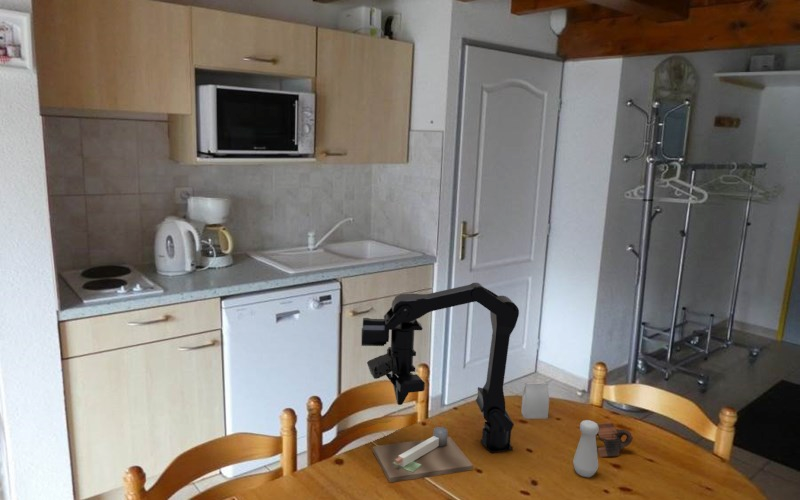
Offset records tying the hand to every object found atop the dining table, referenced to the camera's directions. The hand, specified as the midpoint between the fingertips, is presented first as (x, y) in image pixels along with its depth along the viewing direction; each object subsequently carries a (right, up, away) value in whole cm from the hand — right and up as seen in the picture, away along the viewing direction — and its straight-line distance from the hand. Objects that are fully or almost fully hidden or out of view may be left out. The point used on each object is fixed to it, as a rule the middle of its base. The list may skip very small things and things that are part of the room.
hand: (399, 404), depth 148 cm
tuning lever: (+5, -11, -4) cm, 13 cm away
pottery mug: (+54, -13, +5) cm, 56 cm away
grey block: (+39, -9, +22) cm, 46 cm away
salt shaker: (+45, -15, -7) cm, 48 cm away
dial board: (+5, -13, -4) cm, 14 cm away
